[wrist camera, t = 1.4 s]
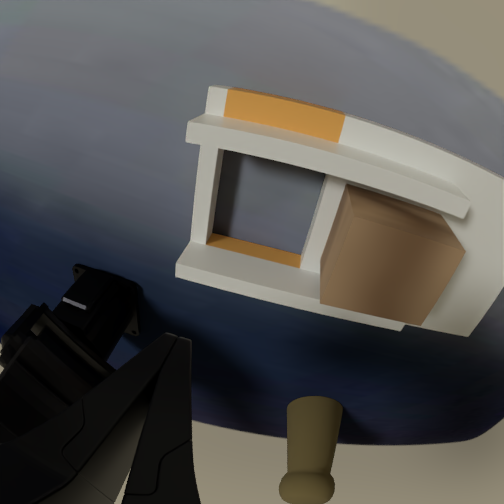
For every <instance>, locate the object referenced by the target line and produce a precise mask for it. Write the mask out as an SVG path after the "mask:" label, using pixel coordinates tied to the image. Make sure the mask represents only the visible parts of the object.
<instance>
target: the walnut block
mask: <svg viewBox="0 0 504 504" xmlns="http://www.w3.org/2000/svg"><path fill="white" fill-rule="evenodd" d="M465 252H466V251H465V249H464V248H463V246H462V245H461V243H460V242H459V240H458V239H457V237H456V236H455V234H454V233H453V231H452V230H451V228H450V227H449V225H448V224H447V223H446V221H445V220H444V218H443V217H442V215H441V214H439V213H436V212H433V211H430V210H427V209H425V208H422V207H419V206H416V205H413V204H410V203H407V202H404V201H401V200H398V199H395V198H392V197H389V196H386V195H383V194H380V193H376V192H373V191H370V190H367V189H363V188H360V187H357V186H353V185H350V184H347V183H346V185H345V188H344V191H343V194H342V197H341V200H340V203H339V206H338V209H337V212H336V215H335V218H334V221H333V224H332V227H331V230H330V233H329V236H328V239H327V242H326V244H325V247H324V250H323V253H322V256H321V258H320V304H324V305H328V306H332V307H337V308H341V309H345V310H350V311H354V312H358V313H363V314H367V315H372V316H376V317H381V318H385V319H390V320H394V321H399V322H404V323H408V324H413V325H418V326H421V325H422V323H423V322H424V320H425V319H426V317H427V316H428V314H429V313H430V311H431V310H432V308H433V307H434V305H435V304H436V302H437V300H438V299H439V297H440V296H441V294H442V292H443V291H444V289H445V287H446V286H447V284H448V282H449V281H450V279H451V277H452V276H453V274H454V272H455V270H456V269H457V267H458V265H459V263H460V261H461V260H462V258H463V256H464V254H465Z"/></svg>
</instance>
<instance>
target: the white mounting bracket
mask: <svg viewBox="0 0 504 504" xmlns="http://www.w3.org/2000/svg"><path fill="white" fill-rule="evenodd" d="M186 142H188V143H194V144H199V145H201V146H200V154H199V162H198V170H197V179H196V188H195V198H194V207H193V217H192V228H191V239H190V242H189V244H188V245H187V247H186V248H185V250H184V251H183V253H182V254H181V256H180V258H179V259H178V261H177V262H176V274H175V277H179V278H182V279H186V280H189V281H193V282H197V283H200V284H204V285H208V286H211V287H215V288H219V289H223V290H226V291H230V292H234V293H238V294H242V295H245V296H249V297H253V298H257V299H261V300H265V301H269V302H273V303H277V304H281V305H285V306H289V307H294V308H298V309H302V310H306V311H310V312H315V313H319V314H323V315H328V316H332V317H336V318H341V319H345V320H350V321H354V322H359V323H363V324H368V325H373V326H377V327H382V328H387V329H392V330H397V331H401V330H402V328H403V327H404V325H405V324H406V325H410V326H415V327H420V328H425V329H430V330H435V331H440V332H445V333H450V334H455V335H460V336H465V337H468V336H469V335H470V334H471V333H472V331H473V330H474V329H475V327H476V326H477V325H478V323H479V322H480V320H481V319H482V318H483V316H484V315H485V313H486V312H487V311H488V309H489V308H490V306H491V305H492V303H493V302H494V300H495V299H496V297H497V296H498V294H499V293H500V291H501V290H502V288H503V287H504V177H502V176H500V175H499V174H497V173H495V172H493V171H491V170H489V169H487V168H485V167H483V166H481V165H479V164H477V163H475V162H473V161H471V160H469V159H466V158H464V157H462V156H460V155H458V154H456V153H453V152H451V151H449V150H447V149H444V148H442V147H440V146H437V145H435V144H433V143H430V142H428V141H425V140H423V139H420V138H418V137H415V136H413V135H410V134H407V133H405V132H402V131H399V130H396V129H394V128H391V127H388V126H385V125H382V124H379V123H376V122H373V121H370V120H367V119H364V118H361V117H358V116H355V115H351V114H348V113H345V112H341V111H338V110H334V109H331V108H327V107H323V106H320V105H316V104H312V103H308V102H304V101H300V100H295V99H291V98H287V97H282V96H278V95H273V94H268V93H263V92H258V91H252V90H247V89H241V88H235V87H229V86H223V85H213V86H209V90H208V97H207V103H206V110H205V114H203V115H201V116H198V117H196V118H194V119H192V120H190V121H188V124H187V133H186ZM224 149H225V150H230V151H235V152H240V153H244V154H249V155H253V156H258V157H262V158H267V159H271V160H275V161H279V162H283V163H288V164H292V165H296V166H300V167H303V168H307V169H311V170H315V171H319V172H322V173H326V175H325V179H324V182H323V185H322V189H321V192H320V196H319V199H318V202H317V206H316V209H315V212H314V215H313V219H312V222H311V225H310V228H309V232H308V235H307V238H306V241H305V244H304V248H303V251H302V254H301V255H299V254H295V253H291V252H287V251H283V250H279V249H275V248H271V247H267V246H263V245H259V244H255V243H251V242H247V241H243V240H239V239H235V238H231V237H227V236H223V235H219V234H215V233H212V230H213V223H214V216H215V208H216V201H217V194H218V187H219V180H220V174H221V167H222V160H223V154H224ZM346 183H347V184H350V185H353V186H357V187H360V188H363V189H367V190H370V191H373V192H376V193H380V194H383V195H386V196H389V197H392V198H395V199H398V200H401V201H404V202H407V203H410V204H413V205H416V206H419V207H422V208H425V209H427V210H430V211H433V212H436V213H439V214H441V215H442V217H443V218H444V220H445V221H446V223H447V224H448V225H449V227H450V228H451V230H452V231H453V233H454V234H455V236H456V237H457V239H458V240H459V242H460V243H461V245H462V246H463V248H464V249H465V251H466V252H465V254H464V256H463V258H462V260H461V261H460V263H459V265H458V267H457V269H456V270H455V272H454V274H453V276H452V277H451V279H450V281H449V282H448V284H447V286H446V287H445V289H444V291H443V292H442V294H441V296H440V297H439V299H438V300H437V302H436V304H435V305H434V307H433V308H432V310H431V311H430V313H429V314H428V316H427V317H426V319H425V320H424V322H423V323H422V325H421V326H418V325H413V324H408V323H404V322H399V321H394V320H390V319H385V318H381V317H376V316H372V315H367V314H363V313H358V312H354V311H350V310H345V309H341V308H337V307H332V306H328V305H324V304H320V258H321V256H322V253H323V250H324V247H325V244H326V242H327V239H328V236H329V233H330V230H331V227H332V224H333V221H334V218H335V215H336V212H337V209H338V206H339V203H340V200H341V197H342V194H343V191H344V188H345V185H346Z"/></svg>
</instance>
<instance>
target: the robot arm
mask: <svg viewBox="0 0 504 504" xmlns="http://www.w3.org/2000/svg"><path fill="white" fill-rule="evenodd" d="M72 270H73V275H74V280H75V283H74V284H73V285H72V286H71V287H70V288H69V290H68V291H67V292H66V293H65V294H64V295H63V296H62V298H61V299H62V301H61V302H60V303H59V304H58V305H57V307H56V308H55V309H54V310H53V311H51V310H50V309H49V308H48V306H47V305H46V304H45V303H43V304H42V305H41V306H40V307H39V306H36V305H33V304H31V305H30V307H29V308H28V309H27V310H26V311H25V312H24V313H23V315H22V316H21V317H20V318H19V319H18V320H17V321H16V322H15V323H14V324H13V325H12V326H11V327H10V329H9V330H8V331H7V332H6V333H5V334H4V335H3V337H2V338H1V343H2V350H1V352H0V353H1V356H0V365H1V366H2V367H3V368H4V370H3V371H2V372H1V374H0V504H114V502H115V500H116V498H117V496H118V494H119V492H120V490H121V488H122V485H123V483H124V481H125V479H126V477H127V475H128V473H129V471H130V473H129V477H128V481H127V484H126V489H125V492H124V494H125V495H124V496H123V500H122V503H121V504H201V503H200V498H199V493H198V489H197V484H196V478H195V472H194V463H193V449H192V409H191V353H192V341H191V340H190V339H187V338H183V337H178V336H177V335H174V334H170V333H164V334H162V335H161V336H160V337H159V338H157V339H156V340H155V341H153V342H152V343H151V344H150V345H148V346H147V347H146V348H145V349H143V350H142V351H141V352H139V353H138V354H137V355H136V356H134V357H133V358H132V359H130V360H129V361H128V362H127V363H125V364H124V365H123V366H121V367H120V368H119V369H118V370H116V369H114V368H113V367H112V366H111V365H109V364H108V363H107V362H106V361H107V360H108V358H109V356H110V355H111V353H112V351H113V350H114V348H115V346H116V345H117V343H118V341H119V340H120V338H121V336H122V335H123V333H124V332H125V333H128V334H131V335H134V336H138V335H139V334H140V321H139V310H138V298H137V287H136V285H135V284H134V283H133V282H131V281H128V280H125V279H122V278H119V277H116V276H113V275H110V274H107V273H104V272H101V271H98V270H95V269H92V268H89V267H86V266H83V265H80V264H75V265H74V266H73V268H72ZM130 287H131V288H130ZM30 329H31V330H32V331H33V332H34V333H35V334H36V335H37V336H36V335H35V334H34V333H33V332H32V331H31V330H30ZM130 468H131V470H130Z"/></svg>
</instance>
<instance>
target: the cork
mask: <svg viewBox="0 0 504 504" xmlns="http://www.w3.org/2000/svg"><path fill="white" fill-rule="evenodd" d="M342 411H343V407H342V406H341V404H340V403H339V402H337V401H336V400H334V399H331V398H327V397H321V396H307V397H302V398H298V399H296V400H294V401H292V402H291V403H290V404H288V407H287V444H288V445H287V454H288V455H287V456H288V458H287V459H288V460H287V461H288V462H287V465H288V466H287V467H288V472H287V473H286V474H285V475H284V477H283V478H282V480H281V482H280V485H279V493H280V496H281V498H282V499H283V500H284V501H286V502H288V503H291V504H324V503H326V502H328V501H329V500H330V499H331V497H332V496H333V494H334V489H335V483H334V479H333V477H332V476H331V474H330V472H331V467H332V463H333V458H334V453H335V448H336V444H337V439H338V434H339V428H340V423H341V417H342Z"/></svg>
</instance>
